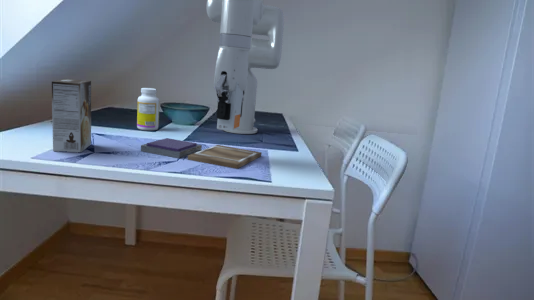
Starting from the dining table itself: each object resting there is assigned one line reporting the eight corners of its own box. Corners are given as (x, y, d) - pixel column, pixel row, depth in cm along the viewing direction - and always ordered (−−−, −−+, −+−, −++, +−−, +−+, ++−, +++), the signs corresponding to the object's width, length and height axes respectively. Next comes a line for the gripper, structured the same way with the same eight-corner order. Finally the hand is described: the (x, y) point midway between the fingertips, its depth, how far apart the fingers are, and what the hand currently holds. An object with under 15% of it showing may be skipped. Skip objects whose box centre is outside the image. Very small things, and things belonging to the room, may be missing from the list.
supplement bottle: (145, 126, 135) (146, 87, 132) (162, 129, 133) (164, 89, 130) (132, 128, 129) (133, 87, 126) (150, 131, 127) (151, 90, 124)
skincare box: (233, 131, 99) (237, 81, 96) (216, 129, 99) (220, 79, 97) (240, 128, 104) (244, 81, 102) (224, 126, 105) (227, 79, 103)
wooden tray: (217, 148, 113) (217, 144, 113) (261, 156, 109) (261, 151, 109) (187, 159, 98) (187, 154, 98) (237, 168, 94) (237, 163, 94)
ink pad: (165, 144, 112) (165, 137, 111) (201, 150, 108) (201, 143, 108) (140, 151, 102) (140, 143, 101) (179, 158, 98) (179, 150, 98)
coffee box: (64, 143, 102) (64, 78, 99) (91, 144, 103) (92, 80, 100) (51, 151, 93) (50, 80, 90) (81, 153, 95) (81, 83, 91)
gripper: (235, 45, 107) (230, 113, 110) (203, 39, 91) (198, 119, 94) (262, 47, 104) (256, 117, 108) (234, 41, 88) (228, 123, 92)
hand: (229, 117), depth 101 cm, fingers closed on skincare box, 6 cm apart
